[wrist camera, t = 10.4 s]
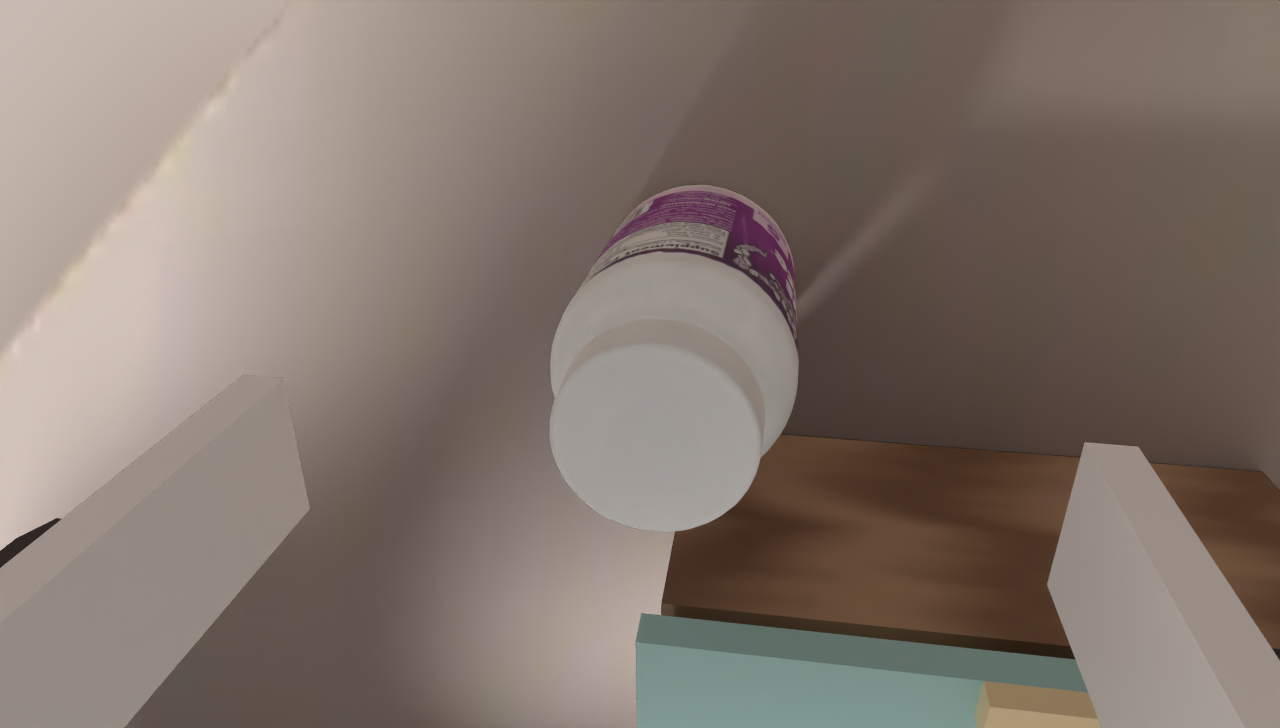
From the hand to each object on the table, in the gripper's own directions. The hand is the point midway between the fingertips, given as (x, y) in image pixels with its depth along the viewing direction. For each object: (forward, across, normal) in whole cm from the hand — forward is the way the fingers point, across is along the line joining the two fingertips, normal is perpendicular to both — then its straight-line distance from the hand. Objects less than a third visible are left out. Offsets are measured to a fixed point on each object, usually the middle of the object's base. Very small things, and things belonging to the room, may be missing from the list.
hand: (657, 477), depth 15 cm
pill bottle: (+11, 0, 0) cm, 11 cm away
